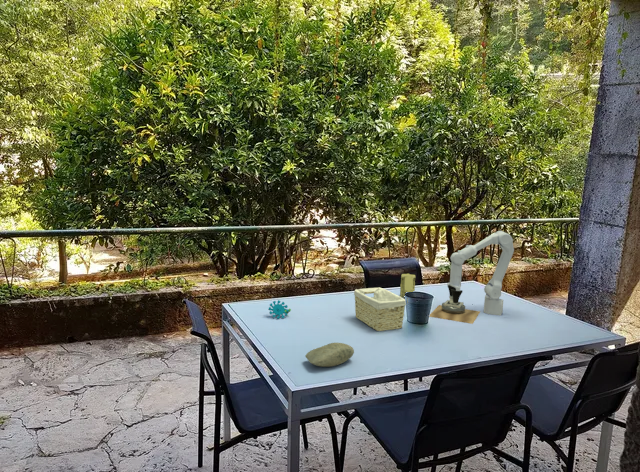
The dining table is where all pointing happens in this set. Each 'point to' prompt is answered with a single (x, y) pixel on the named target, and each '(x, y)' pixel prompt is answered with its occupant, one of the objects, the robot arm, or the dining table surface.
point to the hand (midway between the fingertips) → (453, 300)
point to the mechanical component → (407, 284)
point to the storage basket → (379, 308)
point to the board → (456, 315)
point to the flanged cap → (452, 301)
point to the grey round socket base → (453, 308)
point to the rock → (330, 354)
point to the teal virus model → (279, 309)
